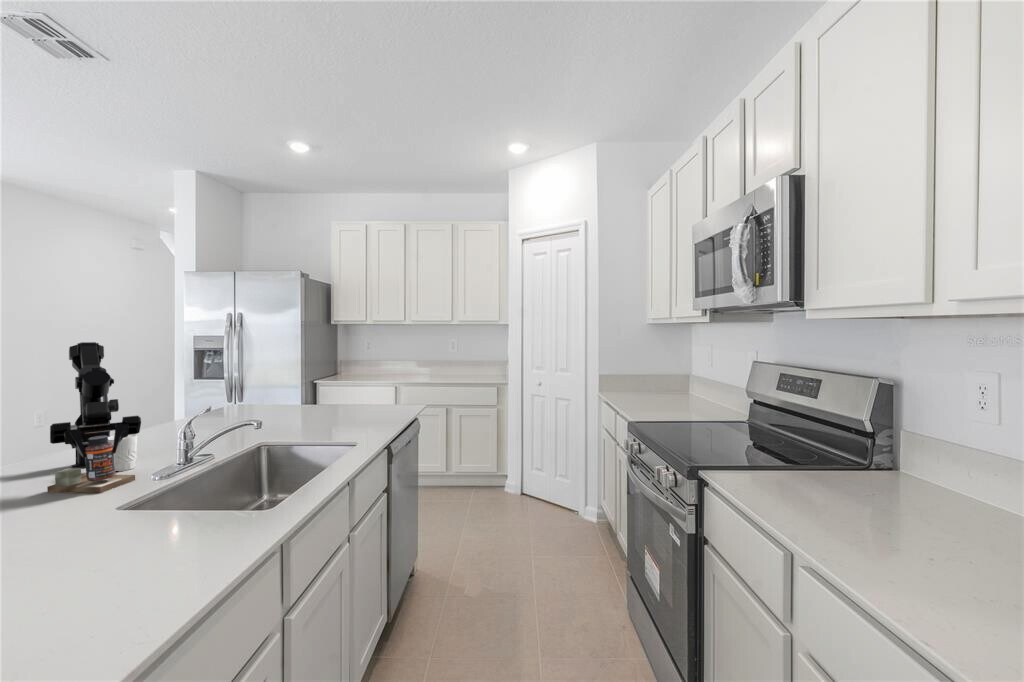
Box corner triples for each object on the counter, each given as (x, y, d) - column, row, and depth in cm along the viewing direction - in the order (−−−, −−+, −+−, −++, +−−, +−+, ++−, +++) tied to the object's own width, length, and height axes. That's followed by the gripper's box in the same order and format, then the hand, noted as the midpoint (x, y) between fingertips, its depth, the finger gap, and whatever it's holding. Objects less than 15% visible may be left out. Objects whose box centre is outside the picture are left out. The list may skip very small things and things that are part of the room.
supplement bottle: (94, 483, 124) (89, 441, 124) (82, 480, 127) (77, 439, 126) (120, 475, 130) (116, 435, 129) (108, 473, 132) (104, 433, 132)
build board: (47, 492, 125) (47, 473, 125) (86, 479, 136) (86, 461, 136) (100, 493, 124) (100, 473, 124) (135, 480, 135) (135, 462, 135)
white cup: (110, 467, 148) (109, 435, 148) (141, 464, 152) (140, 433, 151) (100, 474, 141) (100, 440, 141) (133, 470, 144) (133, 438, 144)
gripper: (49, 393, 124) (51, 442, 116) (139, 387, 137) (146, 431, 129) (49, 418, 129) (50, 467, 122) (136, 411, 143) (142, 454, 135)
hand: (99, 454), depth 127 cm, fingers closed on supplement bottle, 6 cm apart
